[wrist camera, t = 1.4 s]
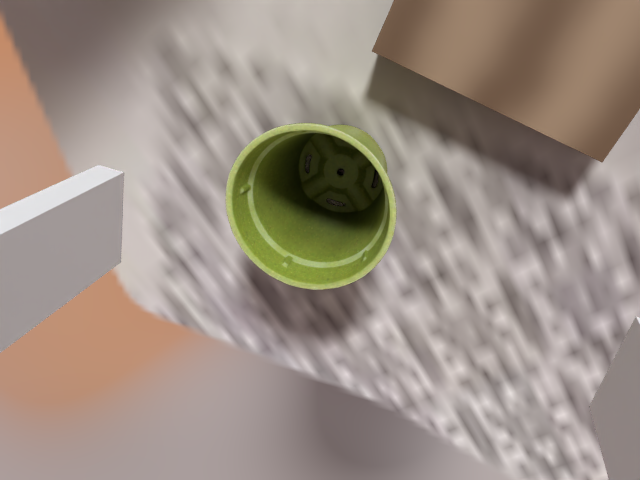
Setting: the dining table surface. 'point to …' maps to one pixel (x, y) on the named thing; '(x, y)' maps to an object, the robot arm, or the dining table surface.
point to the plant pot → (312, 204)
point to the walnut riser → (529, 60)
